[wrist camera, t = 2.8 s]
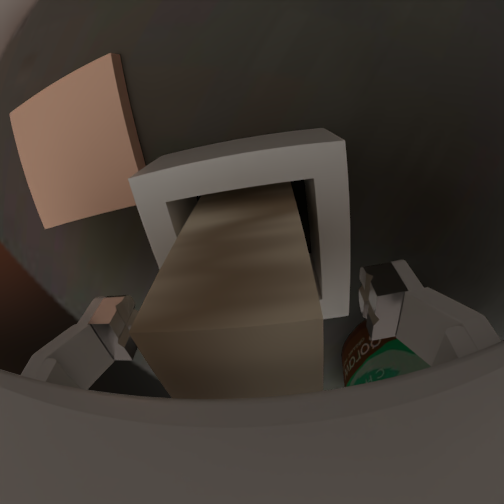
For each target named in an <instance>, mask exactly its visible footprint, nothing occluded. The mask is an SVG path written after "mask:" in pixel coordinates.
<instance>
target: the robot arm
mask: <svg viewBox="0 0 504 504" xmlns="http://www.w3.org/2000/svg"><path fill="white" fill-rule="evenodd" d="M359 278H360V280H361V283H362V286H361V287H360V288H359V305H360V309H361V313H362V316H363V317H365V318H366V319H367V323H366V327H367V330H368V332H369V335H370V338H371V341H372V340H378V339H383V338H389V337H394V336H396V338H397V339H398V340H400V341H401V342H402V343H403V344H405V345H406V346H407V347H408V348H409V349H411V350H412V351H413V352H414V353H415V354H417V355H418V356H419V357H420V358H422V359H423V360H424V361H425V362H426V363H428V364H429V365H430V366H431V367H429V368H425V369H422V370H418V371H415V372H411V373H407V374H403V375H400V376H396V377H391V378H387V379H383V380H378V381H374V382H369V383H364V384H359V385H354V386H348V387H342V388H336V389H330V390H324V391H316V392H309V393H301V394H292V395H282V396H270V397H256V398H236V399H177V398H157V397H143V396H131V395H122V394H113V393H106V392H98V391H92V390H87V389H88V388H89V387H90V386H91V385H92V384H93V383H94V382H95V381H96V380H97V379H98V377H100V375H101V374H102V373H103V372H104V371H105V370H106V369H107V368H108V367H109V366H110V365H111V364H112V363H113V362H114V360H133V358H134V355H135V353H136V350H137V348H138V347H137V346H136V344H135V342H134V341H133V339H132V337H131V336H130V334H129V331H130V329H131V327H132V325H133V322H134V320H135V318H136V316H137V314H138V311H137V310H135V309H134V308H135V302H134V301H133V299H132V297H131V296H129V295H120V296H107V297H106V296H104V297H96V298H94V299H93V301H92V302H91V304H90V305H89V307H88V308H87V310H86V311H85V313H84V314H83V316H82V317H81V319H80V320H79V322H78V324H76V325H73V326H72V327H70V328H69V329H67V330H66V331H65V332H63V333H62V334H60V335H59V336H58V337H56V338H55V339H53V340H52V341H51V342H49V343H48V344H47V345H45V346H44V347H43V348H41V349H40V350H39V351H37V352H36V353H35V354H33V355H32V357H31V359H30V360H29V362H28V364H27V365H26V367H25V369H24V370H23V372H22V374H21V375H17V374H13V373H10V372H6V371H3V370H0V504H504V340H503V341H501V340H500V338H499V337H498V335H497V333H496V332H495V330H494V329H493V327H492V326H491V324H490V323H489V321H488V320H487V318H486V317H485V316H484V315H482V314H480V313H478V312H477V311H475V310H473V309H471V308H469V307H467V306H465V305H463V304H461V303H459V302H457V301H455V300H453V299H451V298H449V297H447V296H445V295H443V294H441V293H439V292H437V291H435V290H433V289H431V288H429V287H426V288H424V287H423V285H422V284H421V282H420V281H419V280H418V278H417V277H416V275H415V274H414V272H413V271H412V269H411V268H410V267H409V265H408V264H407V262H406V261H405V260H403V259H402V260H397V261H392V262H389V263H383V264H377V265H371V266H365V267H361V268H360V277H359Z"/></svg>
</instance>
